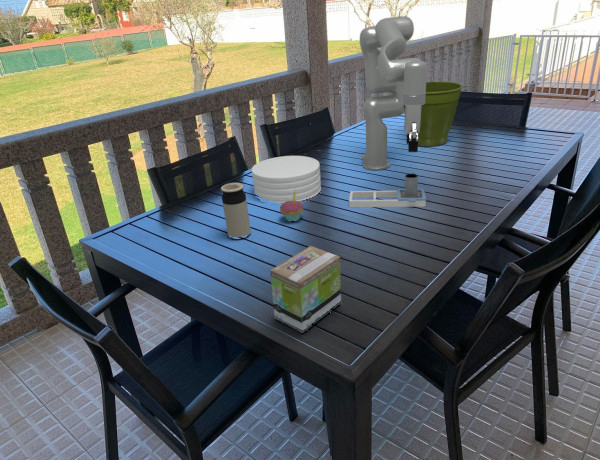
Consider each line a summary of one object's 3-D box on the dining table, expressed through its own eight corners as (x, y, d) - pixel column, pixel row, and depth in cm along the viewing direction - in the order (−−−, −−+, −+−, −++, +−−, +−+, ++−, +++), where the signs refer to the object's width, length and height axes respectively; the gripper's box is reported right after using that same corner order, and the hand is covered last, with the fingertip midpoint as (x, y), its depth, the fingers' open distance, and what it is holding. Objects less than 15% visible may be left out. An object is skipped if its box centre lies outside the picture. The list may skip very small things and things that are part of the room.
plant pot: (398, 136, 251) (399, 83, 238) (452, 133, 246) (456, 80, 234) (401, 151, 225) (403, 93, 212) (462, 149, 220) (467, 89, 207)
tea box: (304, 336, 104) (299, 283, 97) (274, 320, 110) (267, 269, 103) (342, 304, 113) (340, 254, 107) (312, 291, 120) (309, 243, 113)
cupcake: (307, 215, 164) (304, 185, 158) (299, 225, 157) (297, 194, 151) (285, 214, 167) (282, 184, 161) (277, 223, 159) (274, 193, 154)
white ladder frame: (350, 195, 178) (350, 188, 176) (422, 194, 173) (423, 187, 172) (349, 208, 166) (348, 201, 165) (426, 208, 162) (426, 200, 160)
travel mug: (241, 242, 149) (233, 192, 141) (223, 237, 153) (215, 189, 145) (255, 232, 155) (249, 184, 147) (238, 228, 159) (230, 181, 151)
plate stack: (330, 183, 193) (329, 157, 188) (304, 208, 170) (302, 180, 165) (274, 178, 204) (271, 154, 199) (242, 201, 182) (238, 174, 177)
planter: (402, 199, 170) (403, 174, 166) (414, 198, 171) (415, 173, 166) (406, 204, 166) (407, 178, 162) (418, 202, 166) (419, 176, 162)
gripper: (401, 95, 161) (400, 141, 169) (404, 105, 146) (402, 155, 154) (422, 94, 160) (420, 140, 167) (427, 104, 144) (424, 154, 152)
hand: (411, 147), depth 160 cm, fingers open, 9 cm apart
